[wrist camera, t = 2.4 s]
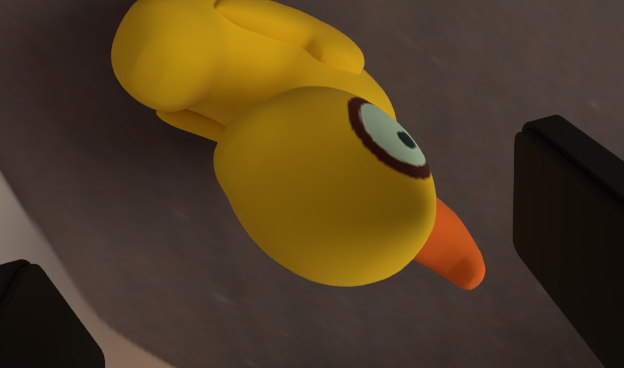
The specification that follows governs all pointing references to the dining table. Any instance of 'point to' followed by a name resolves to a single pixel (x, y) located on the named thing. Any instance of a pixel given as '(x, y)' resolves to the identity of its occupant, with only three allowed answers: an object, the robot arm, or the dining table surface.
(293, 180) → the duckling
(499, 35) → the dining table surface
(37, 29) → the dining table surface
